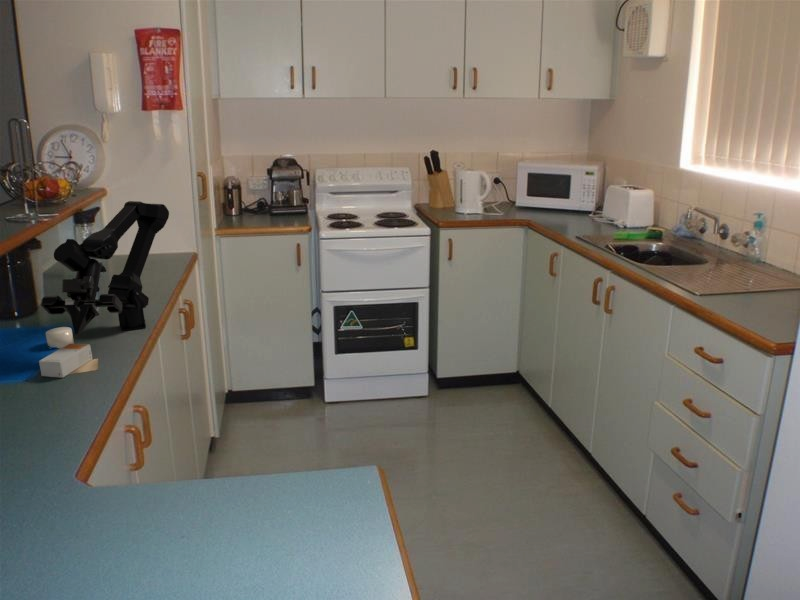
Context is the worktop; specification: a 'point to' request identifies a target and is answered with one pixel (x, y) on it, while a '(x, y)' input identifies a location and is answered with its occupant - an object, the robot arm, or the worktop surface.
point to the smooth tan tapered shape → (87, 367)
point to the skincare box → (65, 360)
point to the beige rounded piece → (59, 337)
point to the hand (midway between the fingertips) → (76, 334)
